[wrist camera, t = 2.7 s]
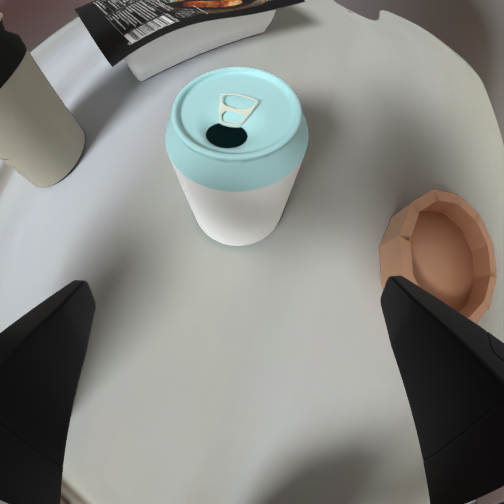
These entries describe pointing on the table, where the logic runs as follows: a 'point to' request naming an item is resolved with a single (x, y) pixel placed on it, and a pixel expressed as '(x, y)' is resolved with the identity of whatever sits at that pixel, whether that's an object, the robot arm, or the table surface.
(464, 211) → the bowl
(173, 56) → the food packaging
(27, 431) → the robot arm
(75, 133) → the travel mug
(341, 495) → the table surface
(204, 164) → the can
